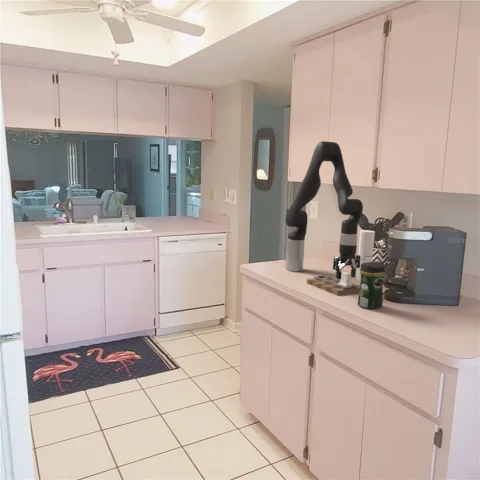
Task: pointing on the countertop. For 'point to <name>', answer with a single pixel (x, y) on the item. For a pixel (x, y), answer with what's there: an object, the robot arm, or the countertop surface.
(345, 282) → the fader
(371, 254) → the cylindrical container
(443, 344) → the countertop surface
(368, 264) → the coffee jar
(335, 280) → the wooden board
